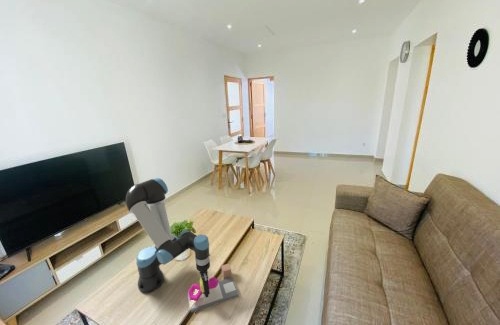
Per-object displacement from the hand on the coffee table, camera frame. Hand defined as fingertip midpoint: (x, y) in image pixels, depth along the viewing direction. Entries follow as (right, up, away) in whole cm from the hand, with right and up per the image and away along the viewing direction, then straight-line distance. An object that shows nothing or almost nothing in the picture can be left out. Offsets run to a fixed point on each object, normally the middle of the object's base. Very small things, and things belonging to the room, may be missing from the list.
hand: (204, 290), depth 124 cm
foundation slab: (+4, -4, +4) cm, 7 cm away
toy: (-1, -2, 0) cm, 2 cm away
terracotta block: (+11, 0, +17) cm, 20 cm away
